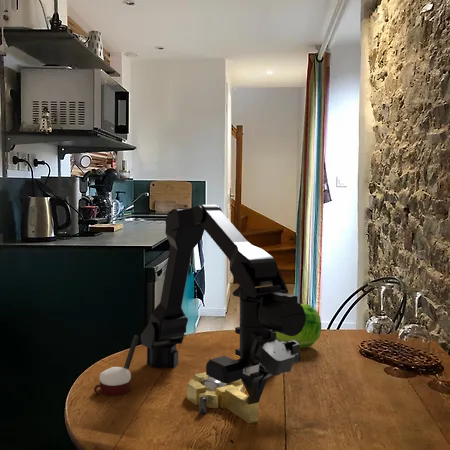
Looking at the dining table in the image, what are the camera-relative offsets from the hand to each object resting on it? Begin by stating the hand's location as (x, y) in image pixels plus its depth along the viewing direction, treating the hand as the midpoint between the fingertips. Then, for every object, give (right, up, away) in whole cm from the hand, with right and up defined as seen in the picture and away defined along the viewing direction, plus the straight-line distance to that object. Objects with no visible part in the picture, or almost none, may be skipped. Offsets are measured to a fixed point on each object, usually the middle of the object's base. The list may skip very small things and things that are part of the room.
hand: (255, 405), depth 99 cm
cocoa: (-28, -2, +11) cm, 30 cm away
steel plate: (-8, -2, +8) cm, 12 cm away
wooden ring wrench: (-5, -1, +5) cm, 7 cm away
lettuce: (+11, 0, +47) cm, 48 cm away
